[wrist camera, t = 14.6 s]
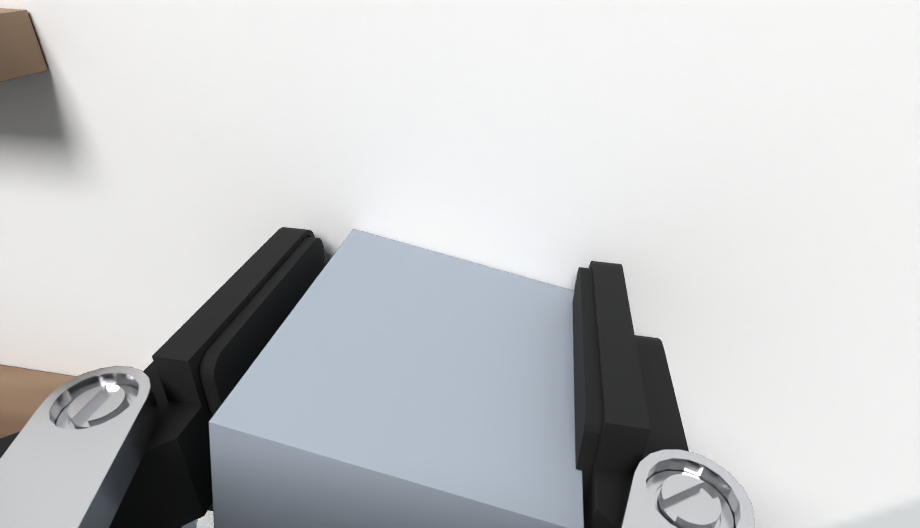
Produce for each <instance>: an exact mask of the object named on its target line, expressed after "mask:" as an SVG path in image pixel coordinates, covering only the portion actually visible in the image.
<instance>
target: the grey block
mask: <svg viewBox="0 0 920 528" xmlns="http://www.w3.org/2000/svg"><path fill="white" fill-rule="evenodd" d="M573 296H574V291H572V290H569V289H565V288H562V287H558V286H554V285H551V284H547V283H544V282H540V281H537V280H533V279H530V278H526V277H522V276H519V275H515V274H512V273H508V272H505V271H501V270H498V269H494V268H491V267H487V266H483V265H480V264H476V263H473V262H469V261H466V260H462V259H459V258H455V257H451V256H448V255H444V254H441V253H437V252H434V251H430V250H427V249H423V248H419V247H416V246H412V245H409V244H405V243H402V242H398V241H395V240H391V239H388V238H384V237H380V236H377V235H373V234H370V233H366V232H363V231H359V230H356V229H353V230H352V231H351V233H350V234H349V235H348V237H347V238H346V239H345V241H344V242H343V243H342V245H341V246H340V247H339V249H338V250H337V251H336V253H335V254H334V255H333V257H332V258H331V259H330V261H329V262H328V263H327V265H326V266H325V267H324V269H323V270H322V272H321V273H320V274H319V276H318V277H317V278H316V280H315V281H314V282H313V284H312V285H311V286H310V288H309V289H308V290H307V292H306V293H305V294H304V296H303V297H302V298H301V300H300V301H299V302H298V304H297V305H296V306H295V308H294V309H293V310H292V312H291V313H290V314H289V316H288V317H287V318H286V320H285V321H284V322H283V324H282V325H281V326H280V328H279V329H278V330H277V332H276V333H275V334H274V336H273V337H272V338H271V340H270V341H269V342H268V344H267V345H266V346H265V348H264V349H263V350H262V352H261V353H260V354H259V356H258V357H257V358H256V360H255V361H254V362H253V364H252V365H251V366H250V368H249V369H248V370H247V372H246V373H245V374H244V376H243V377H242V378H241V380H240V381H239V382H238V384H237V385H236V386H235V388H234V389H233V390H232V392H231V393H230V394H229V396H228V397H227V398H226V400H225V401H224V402H223V404H222V405H221V406H220V408H219V409H218V410H217V412H216V413H215V414H214V416H213V417H212V418H211V420H210V421H209V436H210V455H211V475H212V494H213V514H214V528H584V520H583V488H582V471H580V470H577V469H576V463H575V410H574V358H573V306H572V302H573Z"/></svg>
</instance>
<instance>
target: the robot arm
mask: <svg viewBox="0 0 920 528" xmlns="http://www.w3.org/2000/svg"><path fill="white" fill-rule="evenodd" d="M324 267H325V260H324V251H323V244H322V241H321V239H319V238H315V236H314V234H313V232H312V231H311V230H305V229H296V228H286V227H282V228H280V229H279V230H278V231H277V232H276V233H275V234H274V235H273V236H272V237H271V238H270V239H269V240H268V241H267V242H266V243H265V244H264V245H263V246H262V247H261V248H260V249H259V250H258V251H257V252H256V253H255V254H254V255H253V256H252V257H251V258H250V259H249V260H248V261H247V262H246V263H245V264H244V265H243V266H242V267H241V268H240V269H239V270H238V271H237V272H236V273H235V274H234V275H233V276H232V277H231V278H230V279H229V280H228V281H227V282H226V283H225V284H224V285H223V286H222V287H221V288H220V289H219V290H218V291H217V292H216V293H215V294H214V295H213V296H212V297H211V298H210V299H209V300H208V301H207V302H206V303H205V304H204V305H203V306H202V307H201V308H200V309H199V310H198V311H197V312H196V313H195V314H194V315H193V316H192V317H191V318H190V319H189V320H188V321H187V322H186V323H185V324H184V325H183V326H182V327H181V328H180V329H179V330H178V331H177V332H176V333H175V334H174V335H173V336H172V337H171V338H170V339H169V340H168V341H167V342H166V343H165V344H164V345H163V346H162V347H161V348H160V349H159V350H158V351H157V352H156V353H155V354H154V355H153V356H152V358H153V360H154V361H153V362H152V363H151V364H150V365H149V366H148V367H147V368H146V369H145V370H144V371H141V370H139V369H136V368H133V367H125V366H114V367H107V368H100V369H97V370H94V371H90V372H87V373H84V374H82V375H80V376H78V377H76V378H73V379H71V380H69V381H67V382H66V383H64V384H63V385H62V386H60V387H59V388H57V389H56V390H54V391H53V392H52V393H51V394H50V395H49V396H48V397H47V398H46V399H45V400H44V401H43V402H42V404H41V405H40V406H39V408H38V409H37V410H36V412H35V413H34V414H33V416H32V417H31V418H30V420H29V421H28V422H27V424H26V425H25V426H24V428H23V429H22V430H21V431H20V432H17V433H14V434H11V435H9V436H6V437H3V438H0V528H197V521H198V518H200V517H202V516H204V515H205V514H206V512H207V510H210V511H213V494H212V475H211V455H210V436H209V421H210V420H211V418H212V417H213V416H214V414H215V413H216V412H217V410H218V409H219V408H220V406H221V405H222V404H223V402H224V401H225V400H226V398H227V397H228V396H229V394H230V393H231V392H232V390H233V389H234V388H235V386H236V385H237V384H238V382H239V381H240V380H241V378H242V377H243V376H244V374H245V373H246V372H247V370H248V369H249V368H250V366H251V365H252V364H253V362H254V361H255V360H256V358H257V357H258V356H259V354H260V353H261V352H262V350H263V349H264V348H265V346H266V345H267V344H268V342H269V341H270V340H271V338H272V337H273V336H274V334H275V333H276V332H277V330H278V329H279V328H280V326H281V325H282V324H283V322H284V321H285V320H286V318H287V317H288V316H289V314H290V313H291V312H292V310H293V309H294V308H295V306H296V305H297V304H298V302H299V301H300V300H301V298H302V297H303V296H304V294H305V293H306V292H307V290H308V289H309V288H310V286H311V285H312V284H313V282H314V281H315V280H316V278H317V277H318V276H319V274H320V273H321V272H322V270H323V269H324ZM572 306H573V358H574V410H575V463H576V469H577V470H580V471H582V488H583V520H584V528H755V519H754V514H753V508H752V503H751V501H750V499H749V498H748V496H747V494H746V492H745V490H744V488H743V487H742V486H741V485H740V484H739V483H738V481H737V480H736V479H735V478H734V477H733V476H732V475H731V474H730V473H729V472H728V471H726V470H725V469H724V468H722V467H721V466H719V465H718V464H717V463H715V462H714V461H712V460H710V459H707V458H705V457H703V456H701V455H699V454H696V453H692V452H689V450H688V446H687V442H686V438H685V434H684V430H683V426H682V421H681V417H680V413H679V409H678V405H677V401H676V397H675V393H674V388H673V384H672V380H671V376H670V372H669V368H668V364H667V359H666V355H665V351H664V347H663V344H662V341H661V340H660V339H659V338H652V337H644V336H636V335H634V330H633V324H632V318H631V313H630V307H629V301H628V296H627V290H626V284H625V278H624V273H623V267H622V265H621V264H614V263H605V262H596V261H591V263H590V266H589V268H582V267H579V269H578V273H577V279H576V285H575V290H574V296H573V302H572Z"/></svg>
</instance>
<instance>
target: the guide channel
mask: <svg viewBox="0 0 920 528" xmlns="http://www.w3.org/2000/svg"><path fill="white" fill-rule="evenodd" d="M47 70H48V69H47V66H46V63H45V60H44V57H43V54H42V52H41V49H40V46H39V43H38V40H37V38H36V35H35V32H34V29H33V26H32V23H31V21H30V18H29V15H28V12H27V10H17V9H1V8H0V82H2V81H6V80H10V79H14V78H18V77H22V76H26V75H30V74H34V73H38V72H42V71H47ZM73 378H76V377H75V376H68V375H62V374H55V373H49V372H43V371H36V370H30V369H23V368H17V367H10V366H4V365H0V438H3V437H6V436H9V435H11V434H14V433H17V432H20V431H21V430H22V429H23V428H24V426H25V425H26V424H27V422H28V421H29V420H30V418H31V417H32V416H33V414H34V413H35V412H36V410H37V409H38V408H39V406H40V405H41V404H42V402H43V401H44V400H45V399H46V398H47V397H48V396H49V395H50V394H51V393H52V392H53V391H54V390H56V389H57V388H59V387H60V386H62V385H63V384H64V383H66V382H67V381H69V380H71V379H73Z"/></svg>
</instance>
